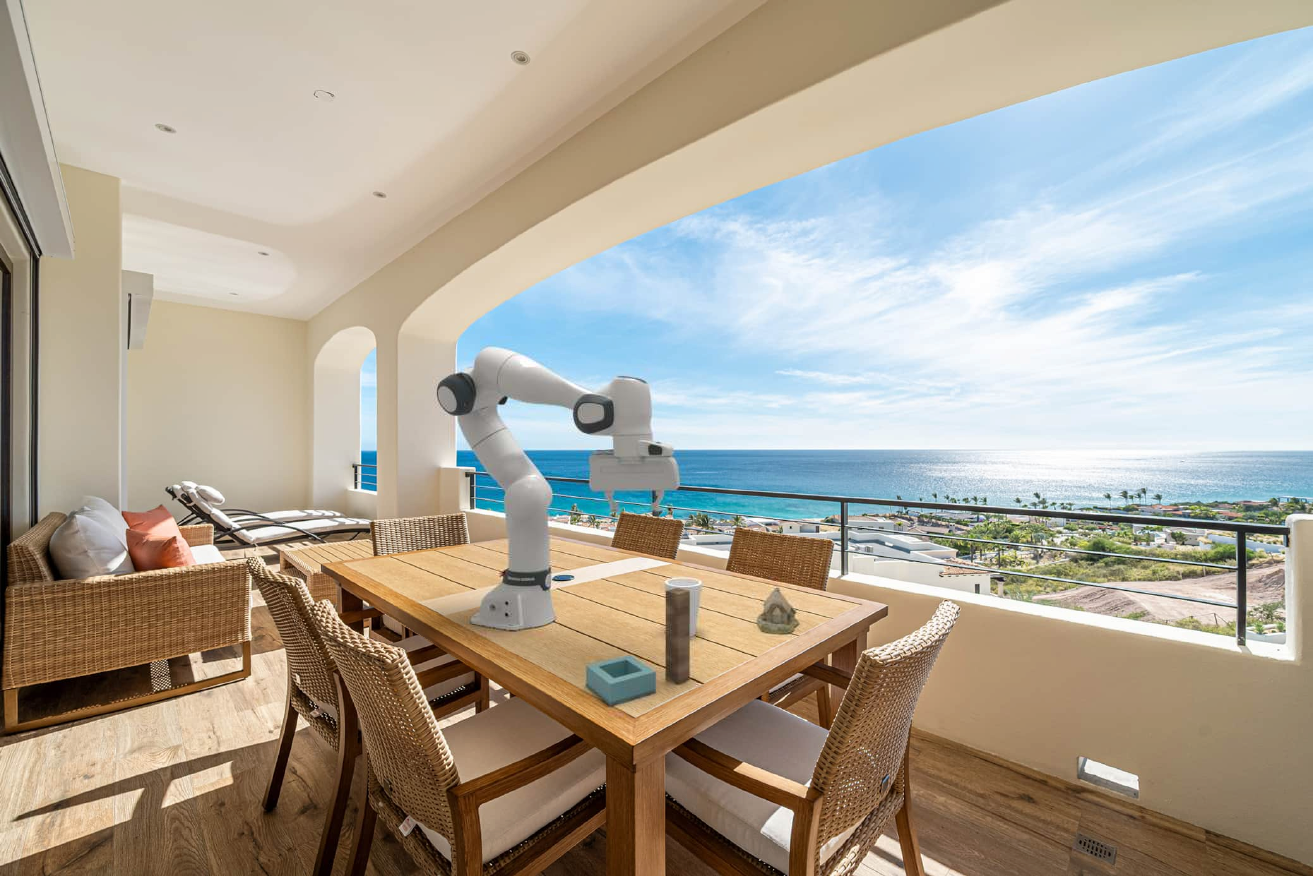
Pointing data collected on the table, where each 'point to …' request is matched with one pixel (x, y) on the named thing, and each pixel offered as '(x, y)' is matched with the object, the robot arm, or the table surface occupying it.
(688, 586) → the foam cup
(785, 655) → the table surface
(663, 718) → the table surface
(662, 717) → the table surface
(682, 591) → the wooden block
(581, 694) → the table surface
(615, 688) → the light blue square container
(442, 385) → the robot arm
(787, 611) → the ceramic model
